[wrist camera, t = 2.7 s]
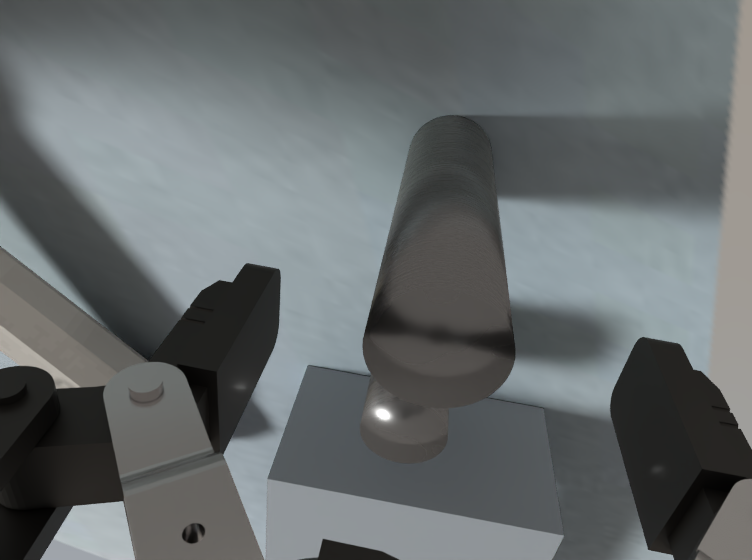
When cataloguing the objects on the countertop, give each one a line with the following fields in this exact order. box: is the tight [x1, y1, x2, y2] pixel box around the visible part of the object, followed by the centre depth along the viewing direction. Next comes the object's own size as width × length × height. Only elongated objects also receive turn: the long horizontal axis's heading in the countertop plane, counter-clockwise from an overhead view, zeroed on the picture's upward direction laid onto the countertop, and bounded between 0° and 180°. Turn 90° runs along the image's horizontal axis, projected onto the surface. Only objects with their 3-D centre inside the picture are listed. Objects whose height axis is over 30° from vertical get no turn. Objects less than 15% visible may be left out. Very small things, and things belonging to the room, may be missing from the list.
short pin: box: [360, 374, 449, 464], centre depth 23 cm, size 3×3×7 cm
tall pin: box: [363, 116, 515, 409], centre depth 17 cm, size 3×3×12 cm
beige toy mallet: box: [0, 246, 148, 389], centre depth 25 cm, size 5×7×25 cm
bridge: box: [266, 366, 564, 560], centre depth 30 cm, size 12×16×7 cm
